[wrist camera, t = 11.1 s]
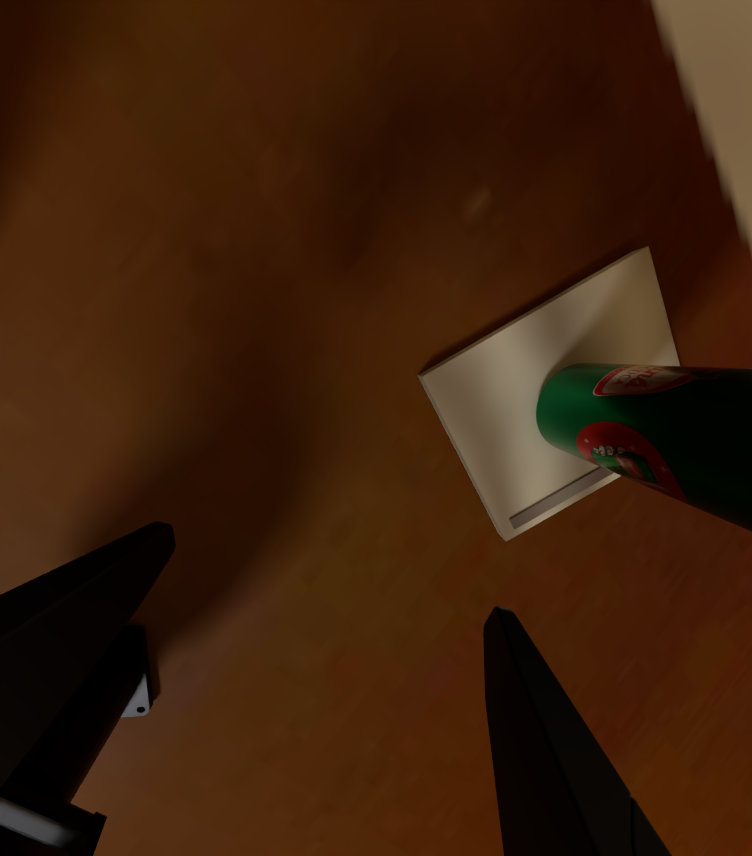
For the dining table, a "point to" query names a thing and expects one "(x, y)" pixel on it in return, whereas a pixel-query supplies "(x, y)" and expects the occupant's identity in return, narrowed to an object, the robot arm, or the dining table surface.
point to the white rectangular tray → (527, 376)
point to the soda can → (659, 429)
